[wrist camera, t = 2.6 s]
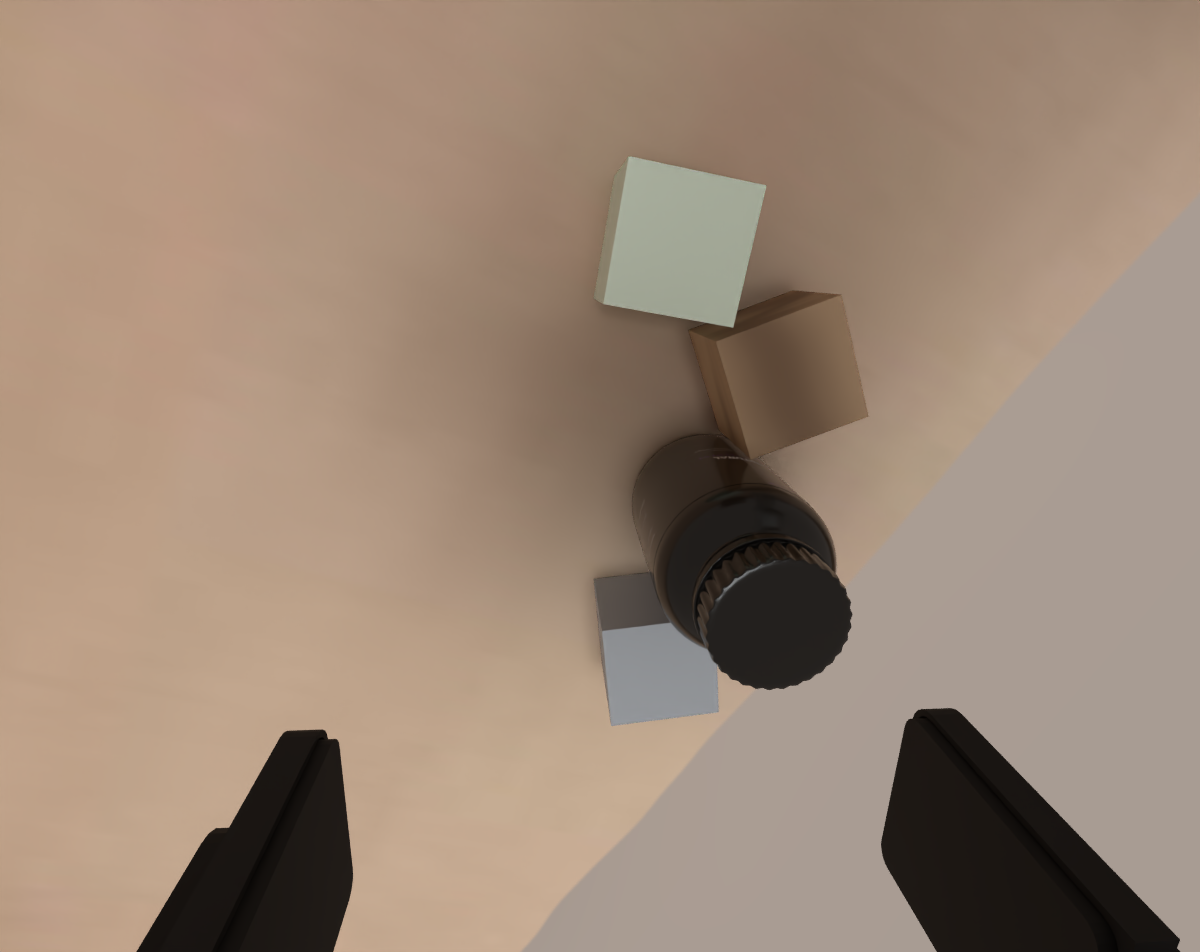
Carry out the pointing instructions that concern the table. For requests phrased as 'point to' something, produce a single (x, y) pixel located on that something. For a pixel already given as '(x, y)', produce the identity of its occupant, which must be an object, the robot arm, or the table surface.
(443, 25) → the table surface
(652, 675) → the slate cube
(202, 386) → the table surface
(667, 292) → the sage cube
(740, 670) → the supplement bottle
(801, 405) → the walnut cube
